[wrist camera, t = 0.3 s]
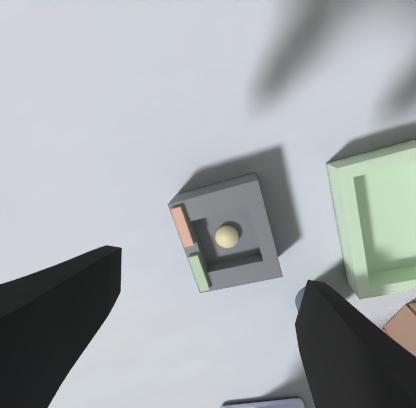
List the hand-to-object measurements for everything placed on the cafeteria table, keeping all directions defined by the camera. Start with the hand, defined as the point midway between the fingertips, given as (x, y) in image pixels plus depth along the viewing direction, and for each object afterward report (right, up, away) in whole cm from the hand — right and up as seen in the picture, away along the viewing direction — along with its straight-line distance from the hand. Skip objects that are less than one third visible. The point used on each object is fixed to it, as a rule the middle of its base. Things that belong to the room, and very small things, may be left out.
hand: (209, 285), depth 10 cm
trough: (+13, +2, +8) cm, 15 cm away
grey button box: (+1, +1, +10) cm, 10 cm away
